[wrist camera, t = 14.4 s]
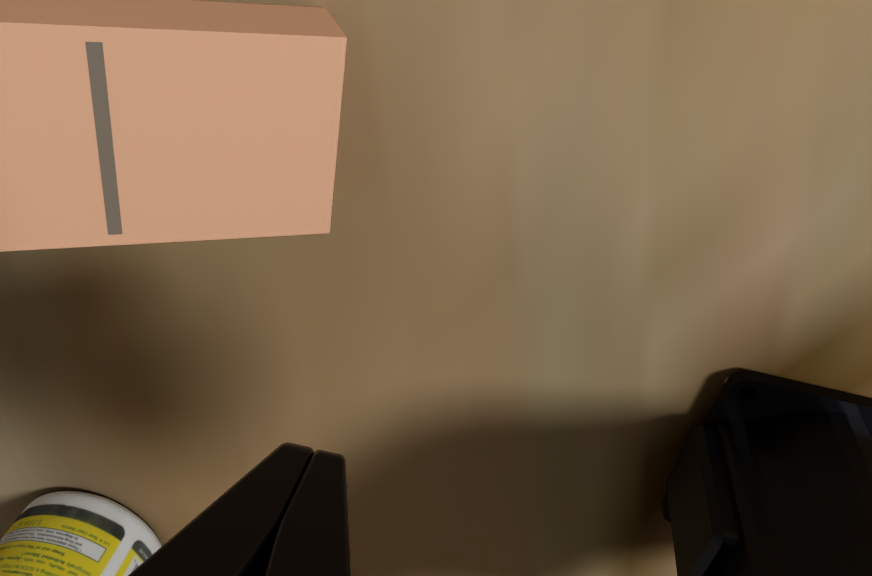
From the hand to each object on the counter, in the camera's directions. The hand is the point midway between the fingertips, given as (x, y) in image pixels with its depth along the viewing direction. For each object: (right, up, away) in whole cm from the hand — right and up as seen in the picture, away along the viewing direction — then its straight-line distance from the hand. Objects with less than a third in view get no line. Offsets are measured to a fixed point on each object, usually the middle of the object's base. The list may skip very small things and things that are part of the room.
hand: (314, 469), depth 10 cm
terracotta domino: (-1, +6, +8) cm, 11 cm away
